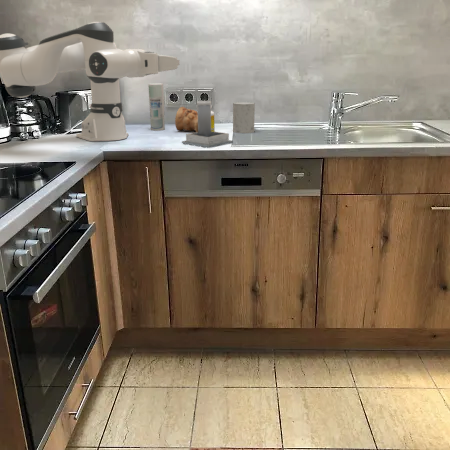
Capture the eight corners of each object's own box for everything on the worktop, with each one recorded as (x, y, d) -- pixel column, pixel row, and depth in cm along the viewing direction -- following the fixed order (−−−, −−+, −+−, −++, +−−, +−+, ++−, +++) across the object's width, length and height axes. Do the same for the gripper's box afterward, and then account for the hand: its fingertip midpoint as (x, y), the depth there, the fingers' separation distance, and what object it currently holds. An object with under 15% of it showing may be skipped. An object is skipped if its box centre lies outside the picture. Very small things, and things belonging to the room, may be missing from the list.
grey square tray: (181, 143, 192) (181, 134, 191) (206, 138, 202) (206, 129, 201) (208, 147, 183) (208, 138, 182) (233, 142, 193) (233, 133, 192)
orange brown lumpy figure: (203, 136, 230) (171, 127, 227) (210, 114, 227) (178, 104, 224) (205, 142, 212) (171, 132, 209) (213, 118, 209) (178, 107, 206)
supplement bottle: (215, 135, 211) (215, 104, 206) (213, 137, 204) (212, 105, 200) (200, 134, 212) (199, 104, 207) (197, 137, 205) (196, 105, 201)
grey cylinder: (238, 133, 215) (238, 104, 211) (229, 130, 223) (229, 102, 219) (258, 132, 218) (258, 103, 214) (248, 129, 226) (248, 101, 222)
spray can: (148, 130, 223) (146, 84, 217) (152, 128, 230) (150, 83, 223) (163, 130, 223) (161, 84, 216) (166, 128, 229) (164, 83, 222)
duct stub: (194, 141, 191) (193, 101, 186) (204, 139, 195) (203, 100, 190) (205, 143, 188) (204, 102, 183) (214, 141, 192) (214, 101, 187)
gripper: (117, 72, 170) (149, 71, 179) (158, 74, 157) (189, 72, 167) (116, 52, 168) (148, 52, 177) (157, 52, 155) (188, 52, 165)
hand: (168, 62), depth 172 cm, fingers open, 8 cm apart
